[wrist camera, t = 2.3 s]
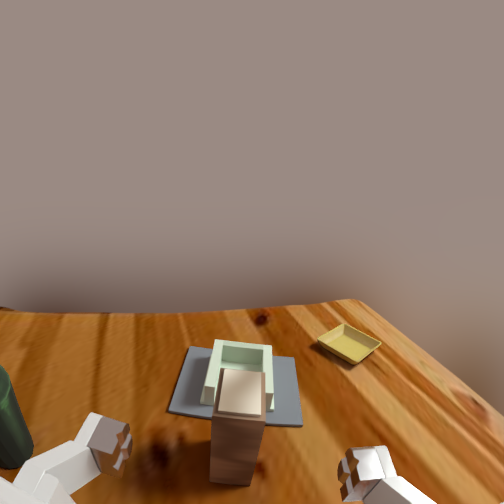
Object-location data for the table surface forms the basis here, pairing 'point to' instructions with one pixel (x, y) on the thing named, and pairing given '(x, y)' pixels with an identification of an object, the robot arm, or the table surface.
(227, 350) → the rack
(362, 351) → the yellow square tray
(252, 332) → the table surface
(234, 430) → the tall wooden pillar
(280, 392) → the mat
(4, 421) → the potion bottle
